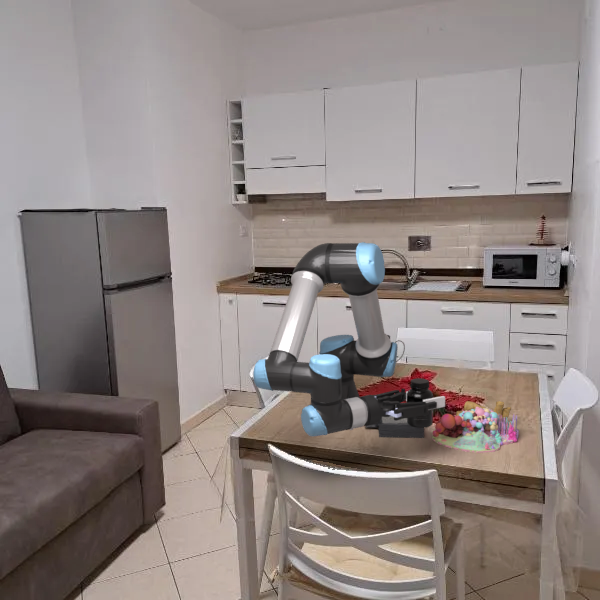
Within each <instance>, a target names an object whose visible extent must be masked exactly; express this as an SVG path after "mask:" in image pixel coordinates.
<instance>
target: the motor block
mask: <svg viewBox="0 0 600 600" xmlns="http://www.w3.org/2000/svg"><path fill="white" fill-rule="evenodd" d="M395 406H396V405H395ZM364 428H376V429H377V428H378V429H377V430H378V437H379V438H395V439H396V438H402V439H425V428H416V427H412V426H410V425H409V424H408V423H407V418H403V419H400V420H397V421H396V420H394V417H393V416H390V417H382V418H381V419H380V421H379V422H378V423H377V424H374V425H369V426H364Z"/></svg>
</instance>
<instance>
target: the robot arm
mask: <svg viewBox="0 0 600 600" xmlns="http://www.w3.org/2000/svg"><path fill="white" fill-rule="evenodd" d="M385 272H386V268H385V258H384V255H383V251H382V250H381V248H380V247H379V245H377V244H375V243H369V242H365V241H364V242H363V241H362V242H358V243H356V242H347V243H346V242H341V243H340V242H337V243H335V242H333V243H332V242H326V243H321V244H319V245H317V246H315V247H313V248H312V249H311V248H310V250H308V252H306V253H305V254H304V255H303V257H301V259H299V261H298V262H297V263H296V266H295V268H294V269H293V271H292V274H291V278H290V282H291V289H290V291H289V294H288V297H287V300H286V302H285V303H286V304H285V306H284V310H283V313H282V314H281V319H280V321H279V325H278V327H277V331H276V334H275V337H274V340H273V342H272V345H271V348H270V351H269V355H268V357H267V358H264V359H262V358H261V359H258V360H257V361H256V363H255V365H254V367H253V371H252V375H253V376H252V379H253V381H254V382H253V383H254V385H255V386H256V387H257V388H258V389H261V390H265V391H266V390H267V391H270V392H271V391H272V392H273V391H279V392H291V393H300V394H301V393H302V394H308V395H310V404H308V405H306V406H304V407H303V408H302V410H301V414H300V418H301V419H300V420H301V425H302V428H303V430H304V432H305V433H306V434H307V435H308V436H309V437H318V436H319V437H320V436H328V435H330V434H334V433H335V434H336V433H339V432H343V431H348V430H350V431H353V430H354V429H357V428H362V427H365V426H369V425H374V424H377V423H378V422H379V421H380V419H381V418H382V417H390V416H393V417H394V420H396V421H397V420H400V419H403V418H410V417H416V416H423V415H428V410H431V409H433V410H435V409H440V408H445V407H446V396H444V395H442V396H436V397H433V398H431V399H425V400H423V402H407V392H408V391H409V390H408V391H406V389H405V388H401V389H394V390H390V391H385V392H382V393H378V394H377V393H376V394H367V395H366V394H365V395H362V396H360V394H359V391H358V389H357V385H356V382H355V378H354V377H355V375H357V376H367V377H379V378H384V377H385V378H391V377H392V376H394V373H395V369H396V365H397V362H396V361H397V356H398V344H397V342H396V343H395V342H394V341H392V340H391V337H390V338H389V337H388V335H389V334H387V333H385V329H384V322H383V318H382V316H383V315H382V312H381V306H380V302H379V301H380V300H379V295H378V288H379V287H380V284H382V283H383V281H384V279H385ZM326 284H340V287H341V289H342V292H343V293H344V294H346V295H348V299H349V303H350V306H351V311H352V316H353V320H354V321H353V322H354V325H355V329H356V334H357V339H356V340H355V338H354V336H353V335H351V334H338V335H331V336H328V337H326V338H324V339H322V340H321V341H320V344H319V354H314V355H312V356H311V357H310V359H309V362H306V361H305V362H303V361H302V362H301V361H298V360H299V357H300V353H301V349H302V347H303V344H304V340H305V337H306V334H307V330H308V327H309V324H310V320H311V318H312V314H313V311H314V308H315V303H316V301H317V297H318V294H319V293H320V292H322V291H323V289H324V286H325V285H326ZM395 405H396V406H395Z"/></svg>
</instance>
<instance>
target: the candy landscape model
mask: <svg viewBox="0 0 600 600" xmlns="http://www.w3.org/2000/svg"><path fill="white" fill-rule="evenodd" d="M511 410H512V407H511V406H507V407H505V402H504V401H500V400H499V401H496V402H495V406H494V409H493V410H492V409H491V408H490V409H489V408H487V407H486V406H482V405H480V404H477V402H475V401H470V400H467V401H465V403H464V405H463V410H457V411H456V412H455V416H454V415H452V414H451V413H445V414H443V415H442V416H441V418H440V420H438V421H437V423H436V424H435V425H434V430H433V431H432V436H431V437H432V438H431V439H432V440H433V442H434V443H437V444H438V445H441V446H443V447H446V448H450V449H454V450H456V451H462V452H466V453H469V452H470V453H477V454H479V453H482V454H483V453H494V452H497V451H499V450H500V449H501V446H503V445H509V444H514V443H517V442H518V438H519V428H517V426H518V424H517V423H518V415H517V414H516V415H515V414H513V415H512V420H511V421H509V420H508V418H509V415H510V414H511V413H510V412H511Z"/></svg>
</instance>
